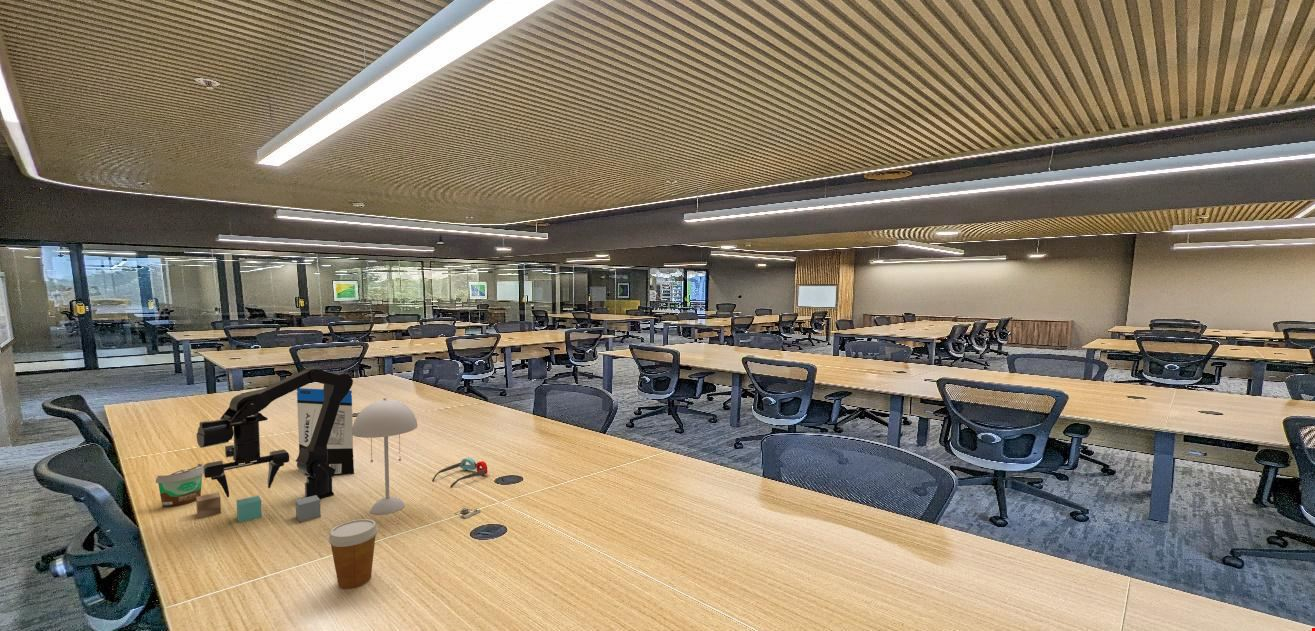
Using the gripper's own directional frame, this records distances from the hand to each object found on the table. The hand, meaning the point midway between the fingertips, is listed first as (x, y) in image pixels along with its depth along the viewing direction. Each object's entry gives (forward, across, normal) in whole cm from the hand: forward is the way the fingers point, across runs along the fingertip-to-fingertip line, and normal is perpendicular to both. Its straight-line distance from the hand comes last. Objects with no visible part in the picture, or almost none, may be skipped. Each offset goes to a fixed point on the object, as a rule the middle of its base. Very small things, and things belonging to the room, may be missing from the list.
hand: (249, 492), depth 145 cm
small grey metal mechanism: (+8, -48, +45) cm, 66 cm away
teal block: (+7, 0, 0) cm, 7 cm away
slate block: (+7, -12, +12) cm, 18 cm away
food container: (+7, +12, -28) cm, 31 cm away
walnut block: (+7, +8, -12) cm, 16 cm away
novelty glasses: (+8, -56, +13) cm, 58 cm away
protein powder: (+8, -25, -29) cm, 39 cm away
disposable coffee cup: (+7, -12, +59) cm, 61 cm away
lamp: (+7, -30, +22) cm, 38 cm away
